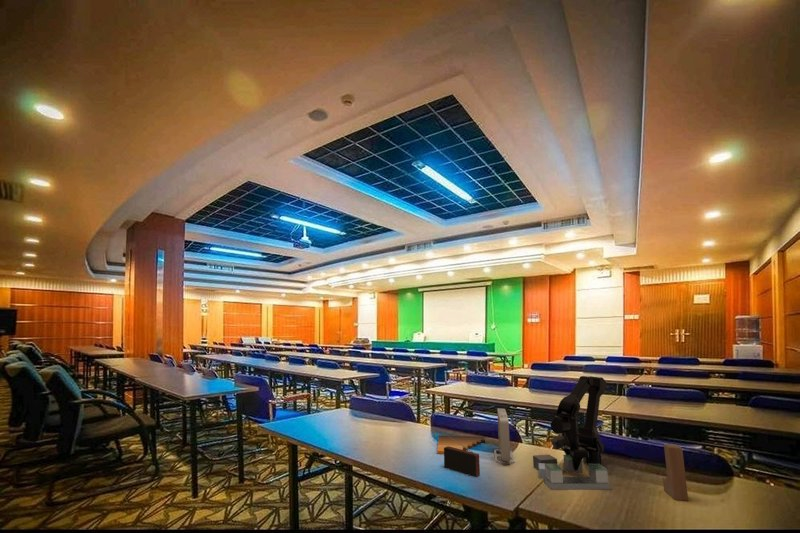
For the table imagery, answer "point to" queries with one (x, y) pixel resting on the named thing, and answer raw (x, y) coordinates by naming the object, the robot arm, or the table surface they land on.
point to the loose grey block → (543, 460)
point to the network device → (503, 439)
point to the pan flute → (463, 440)
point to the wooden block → (675, 473)
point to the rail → (577, 478)
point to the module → (571, 465)
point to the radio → (461, 460)
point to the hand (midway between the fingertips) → (573, 468)
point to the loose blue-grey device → (541, 470)
